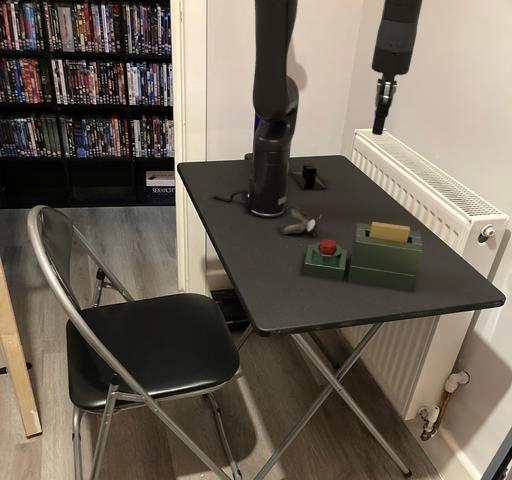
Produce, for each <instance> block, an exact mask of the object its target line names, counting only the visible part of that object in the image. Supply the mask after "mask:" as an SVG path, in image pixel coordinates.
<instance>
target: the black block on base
mask: <svg viewBox="0 0 512 480" xmlns="http://www.w3.org/2000/svg"><path fill="white" fill-rule="evenodd" d="M290 174H291V176H292V177H293V178H294V179H295V181H296V182H297V184H298V185H299V186H300V188H301V189H302V190H303V191H314V190H315V191H317V190H326V188H327V187H326V186H325V185H324V183H323V182H322V181H321V179H320V178H319V177H318V176H317V167H316V166H315V165H314V163H303V167H302V171H292V172H291V173H290Z"/></svg>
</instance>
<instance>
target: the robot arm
mask: <svg viewBox="0 0 512 480" xmlns="http://www.w3.org/2000/svg"><path fill="white" fill-rule="evenodd" d="M298 2H299V0H254V24H255V25H254V34H255V35H254V36H255V37H254V38H255V39H254V40H255V62H254V75H253V84H252V107H253V109H254V111H255V113H256V115H257V116H258V118H259V122H258V126H257V128H256V130H255V132H254V135H253V147H252V149H253V150H252V163H251V175H250V177H249V182H245V184H244V186H243V188H242V189H241V190H236V191H234V192H232V193H230V196H229V198H225V197H221V196H219V195H217V194H214V195H213V198H214V199H217V200H219V201H222V202H226V203H229V202H232V201H233V199H234V196H236V195H239V194H241V200H242V201H247V213H249V214H252V215H254V216H257V217H260V218H268V219H269V218H272V219H273V218H278V217H281V216H282V215H284V213H285V203H286V201H287V196H286V195H287V194H286V193H287V187H288V185H287V184H288V177H289V167H290V158H291V149H292V148H291V147H292V141H293V138H294V135H295V132H296V126H297V119H298V112H299V105H300V92H299V88H298V87H299V86H298V85H297V83H296V81H295V80H294V79H293V78H292V77H291V76H289V75H288V55H289V49H290V45H291V41H292V37H293V34H294V33H293V32H294V29H295V26H296V21H297V14H298V4H299V3H298ZM422 5H423V0H384V2H383V8H382V13H381V18H380V22H379V26H378V29H377V34H376V38H375V45H374V51H373V56H372V62H371V69H372V70H373V71H374V72H376V73H379V74H381V78H377V80H376V92H375V98H374V105H375V106H374V107H375V109H374V119H373V125H372V130H371V133H372V134H373V135H376V136H382V135H383V133H384V128H385V123H386V118H388V116H389V112H390V108H391V107H392V105H393V102H394V95H395V94H396V91H397V87H398V83H397V82H398V80H395V78H396V76H404V75H406V74H408V73H409V71H410V67H411V62H412V58H413V53H414V48H415V43H416V39H417V34H418V25H419V20H420V19H419V18H420V15H421V10H422Z"/></svg>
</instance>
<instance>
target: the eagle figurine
mask: <svg viewBox="0 0 512 480" xmlns="http://www.w3.org/2000/svg"><path fill="white" fill-rule="evenodd" d="M286 212H287V214H289V215H290V216H291V217H292V219H294V220H296V221H298V222H299V223H297V224H290V225H287V226H284V227H282V228H280V230H279V231H280V232H281V234H284V235H289V234H300V233H303V232H304V231H305V230H307V232H311V234H312V236H313V237H314V238H315V237H316V232H317V231H318V228H319V225H320V222H321V219H322V216H323V214H322V213H321V214H320V215H319V216H317V217H316V219H315V218H314V219H311V220H310V217H309V214H308V213H307V212H305V211H303V210H302V209H301V208H300V207H299V205H298V204H295V203H290V204H289V205H288V206H287V207H286Z"/></svg>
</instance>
